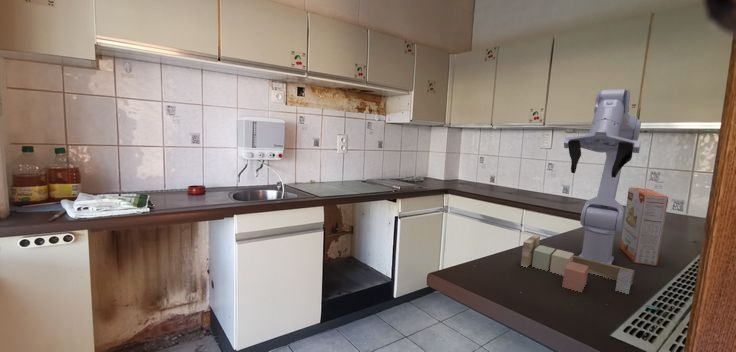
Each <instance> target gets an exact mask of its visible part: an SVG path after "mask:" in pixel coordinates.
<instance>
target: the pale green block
mask: <svg viewBox="0 0 736 352" xmlns="http://www.w3.org/2000/svg"><path fill="white" fill-rule="evenodd" d="M555 251H556V248H554V247H549V246H545V245H542V244H541V245H540V244H539V246H538V247H537V248H536V249H535V250H534V253H533V261H532V264H531V268H533V267H535V268H534V269H537V268H538V270H540V269H542V270H541V271H543V270H545V271H544V272H547V271H548V270H549V269H550V266H551V258H552V254H553V253H554V252H555ZM549 271H550V270H549ZM549 271H548V272H549Z"/></svg>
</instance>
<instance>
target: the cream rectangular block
mask: <svg viewBox="0 0 736 352" xmlns="http://www.w3.org/2000/svg"><path fill="white" fill-rule="evenodd" d="M573 256H575V253H574V252H570V251H565V250H562V249H558V248H557V249H555V252H554V253H553V254H552V258H551V266H550V270H549V273H550V272H552V273H551V274H554V273H556V274H555V275H557V274H559V275H558V276H561V275H562V276H561V277H564V270H565V267H566V266H567V265H568V263H569V262H570V261H571V262H573Z"/></svg>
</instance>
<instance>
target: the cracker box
mask: <svg viewBox="0 0 736 352" xmlns="http://www.w3.org/2000/svg"><path fill="white" fill-rule="evenodd" d="M626 198H627V199H626V206H625V210H624V217H623V224H622V230H621V231H622V233H621V238H620V239H621V240H620V247H619V249H621V250H622V251H623V253H625V255H626V256H627V257H628V258H629V259H630V260H631V261H632V262H633V263H634V264H638V265H647V266H652V267H658V262H659V257H660V249H661V244H662V238H663V233H664V226H665V221H666V215H667V209H668V203H669V196H667V195H664V194H662V193H660V192H657V191H655V190H652V189H650V188H641V187H628V190H627V197H626Z"/></svg>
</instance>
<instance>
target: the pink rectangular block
mask: <svg viewBox="0 0 736 352" xmlns="http://www.w3.org/2000/svg"><path fill="white" fill-rule="evenodd" d="M588 268H589V266H586V265H583V264H579V263H575V262H571V261H570V262H569V263H568V265H567V266H566V267H565V270H564V276H562V278H563V279H562V286H561V288H563V287H564V289H566V288H567V290H569V289H571V290H570V291H573V290H574V291H573V292H576V291H578V292H577V293H579V292H581V293H580V294H582V293H583V291H584V289H585V288H584V287H586V286H585V285H587V280H588V274H589V273H588Z"/></svg>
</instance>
